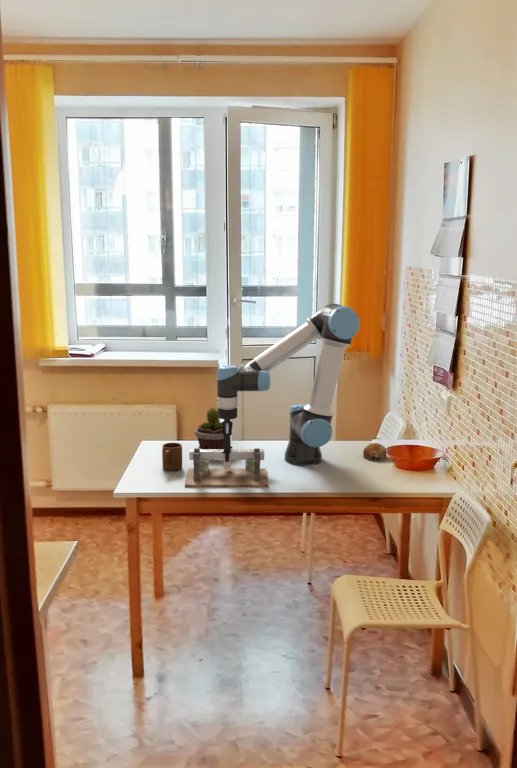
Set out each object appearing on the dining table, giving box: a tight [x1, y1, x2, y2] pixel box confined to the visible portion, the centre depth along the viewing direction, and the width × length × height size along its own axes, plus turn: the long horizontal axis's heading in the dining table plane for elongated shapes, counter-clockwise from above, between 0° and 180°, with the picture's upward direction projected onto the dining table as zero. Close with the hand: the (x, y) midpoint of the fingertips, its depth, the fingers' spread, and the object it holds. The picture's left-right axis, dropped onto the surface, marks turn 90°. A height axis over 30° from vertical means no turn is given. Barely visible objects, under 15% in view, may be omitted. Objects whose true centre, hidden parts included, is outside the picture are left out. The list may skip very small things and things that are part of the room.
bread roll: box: [362, 442, 388, 462], centre depth 274 cm, size 10×10×8 cm
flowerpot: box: [194, 406, 224, 449], centre depth 274 cm, size 14×15×20 cm
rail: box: [189, 448, 265, 461], centre depth 249 cm, size 28×3×3 cm, turn 92°
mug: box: [161, 442, 183, 472], centre depth 254 cm, size 12×8×9 cm, turn 170°
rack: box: [184, 447, 270, 488], centre depth 245 cm, size 30×18×12 cm, turn 92°
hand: (227, 467), depth 250 cm, fingers open, 3 cm apart
